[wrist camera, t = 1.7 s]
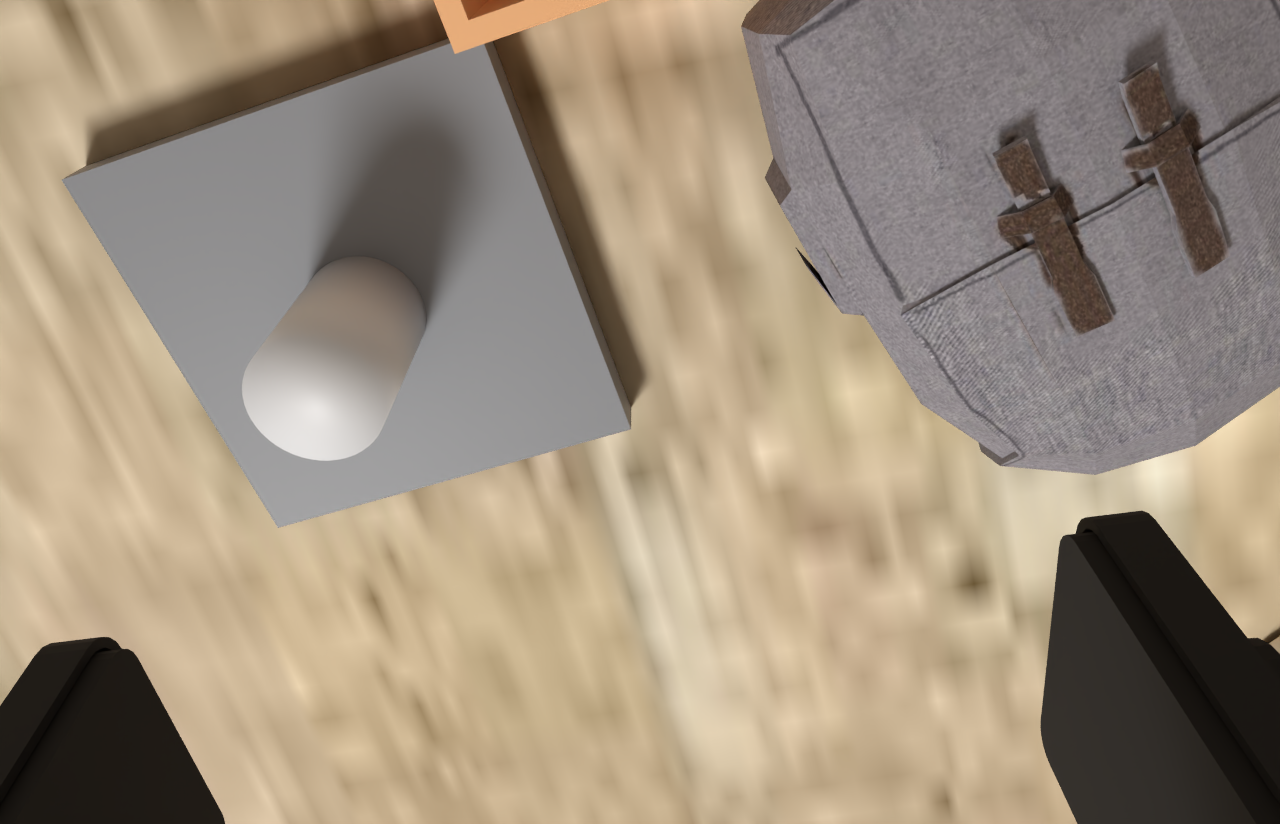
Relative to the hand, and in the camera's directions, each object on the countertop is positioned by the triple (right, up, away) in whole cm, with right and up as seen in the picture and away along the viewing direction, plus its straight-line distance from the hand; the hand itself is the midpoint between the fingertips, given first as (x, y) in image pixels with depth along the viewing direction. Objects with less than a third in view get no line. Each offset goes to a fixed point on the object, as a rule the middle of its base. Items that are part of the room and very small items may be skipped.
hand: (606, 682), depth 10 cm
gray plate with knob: (-9, +7, +24) cm, 27 cm away
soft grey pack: (+13, +11, +22) cm, 28 cm away
